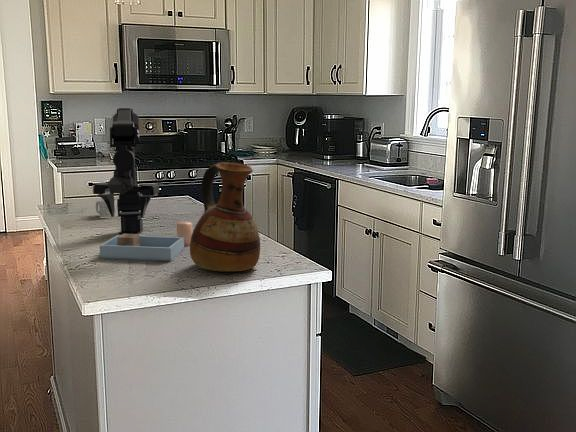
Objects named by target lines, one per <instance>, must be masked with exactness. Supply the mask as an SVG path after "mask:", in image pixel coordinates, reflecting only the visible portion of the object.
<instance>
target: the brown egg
mask: <svg viewBox="0 0 576 432" xmlns="http://www.w3.org/2000/svg"><path fill="white" fill-rule="evenodd" d="M193 230H194V229H193V222H192V221H186V220H185V221H178V222H176V237H184V247H190V241H191V236H192V233H193Z"/></svg>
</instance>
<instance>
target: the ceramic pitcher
mask: <svg viewBox="0 0 576 432" xmlns="http://www.w3.org/2000/svg"><path fill="white" fill-rule="evenodd" d="M253 172H254V168H252V167H251V166H249V165H246V164H244V163H240V162H232V161H231V162H229V161H227V162H225V161H220V162H218V163H214V164H212V165H211V166H209V167H208V168H207V169H206V170H205V172H204V173H203V177H202V180H201V184H200V194H201V198H202V203H203V211H204V212H203V214H202V215H201V216H200V218H199V220H198V221H197V223H196V224H195V226H194V228H193V229H192V230H193V233H192V236H191V241H190V246H189V255H190V258H191V260H192V261H193V263H194V264H195V265H196V266H198V267H199V268H202V269H204V270H208V271H215V272H220V273H222V272H225V273H226V272H228V273H229V272H231V273H232V272H234V273H235V272H242V271H246V270H251V269H253V268H254V267H255V266H256V265H257V264H258V262H259V260H260V254H261V237H260V234H259V228H258V226H257V223H256V220H255V219H254V217H253V215H252V214H251V213H250V212H249V211H248V210H247V209H246V208H245V206H244V202H243V193H244V187H245V183H246V180H247V178H248V177H249V175H251V173H253ZM218 173H219V175H220V177H221V178H220V179H221V193H220V196H219V199H218V201H217V203H215V200H214V195H213V183H214V180H215V178H216V176H217V174H218Z"/></svg>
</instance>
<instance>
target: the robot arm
mask: <svg viewBox="0 0 576 432" xmlns="http://www.w3.org/2000/svg"><path fill="white" fill-rule="evenodd" d="M139 119H140V117H139V115H138V114H136V113H135V112H134V110H133V108H131V107H118V108H116V113H115V114H114V115H112V124H111V126H110V127H109V147H110V148H115V149H114V154H113V157H112V163H113V164H114V167H115V168H114V169H113V176H112V177H111V178H110V179H109V181H108V182H98V183H95V184H94V185H93V187H92V194H93V195H97V197H98V198H101V199H103V200H104V201H105V203H106V205H107V207H108V209H109V212H110V214H111V216H112V217H114V213H115V208H114V199H115V194H119V195H118V198H116V200H117V218H118V217H120V231H119V233H118V235H122V234H139V235H140V233H141V232H144V227H143V226H144V225H143V223H144V222H143V221H144V220H143V218H144V217H145V215H146V211H147V208H148V205H149V203H150V201H151V199H152V198H153V197H154V196H156V195H158V194H159V193H160V186H159V185H158V183H144V184H142V185H138V181H137V180H136V179H137V178H136V172H137V169H138V168H137V167H136V159H135V157H136V156H135V155H136V154H135V153H136V152H135V149H134V148H138V145H140V120H139Z"/></svg>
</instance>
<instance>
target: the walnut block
mask: <svg viewBox="0 0 576 432" xmlns="http://www.w3.org/2000/svg"><path fill="white" fill-rule="evenodd" d="M119 235H120V236H119V237H117V240H118V246H140V240H139V236H140V233H139V234H119Z"/></svg>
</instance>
